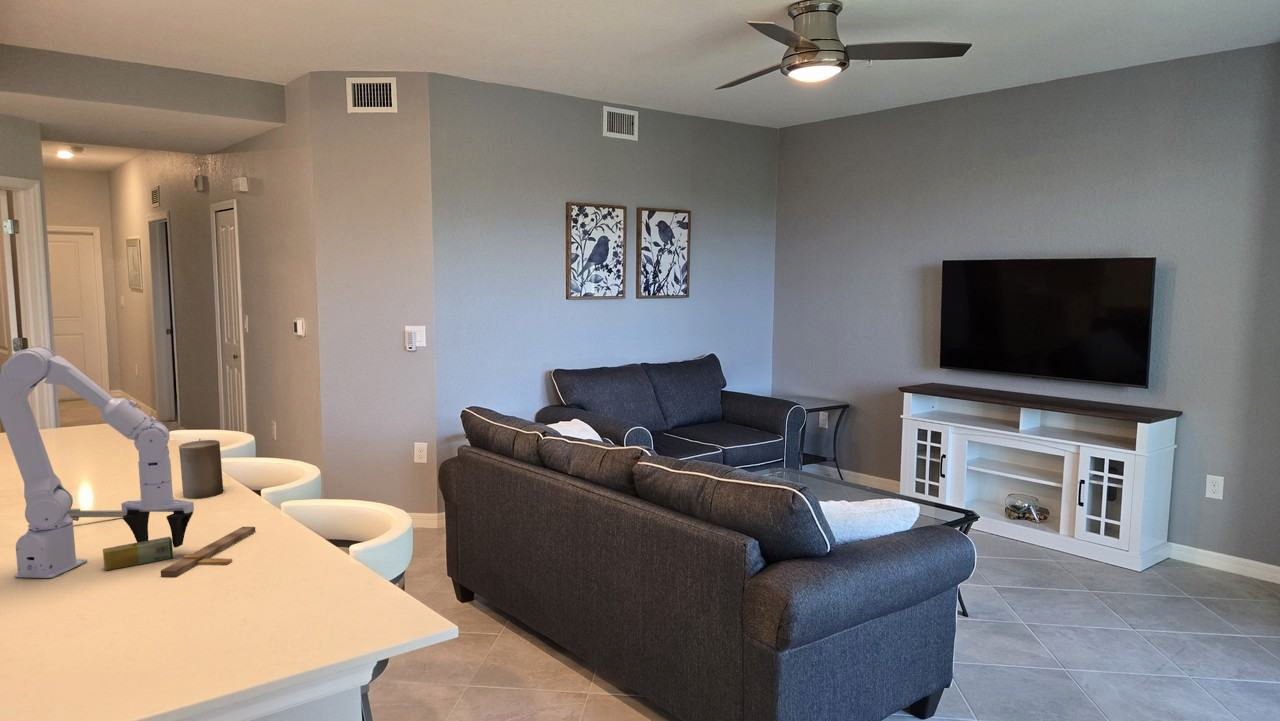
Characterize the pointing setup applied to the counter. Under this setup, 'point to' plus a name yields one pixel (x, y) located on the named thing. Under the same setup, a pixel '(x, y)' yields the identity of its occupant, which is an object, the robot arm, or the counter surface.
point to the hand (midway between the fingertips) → (160, 545)
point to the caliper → (94, 513)
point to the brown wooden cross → (207, 553)
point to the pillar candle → (201, 468)
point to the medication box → (137, 553)
